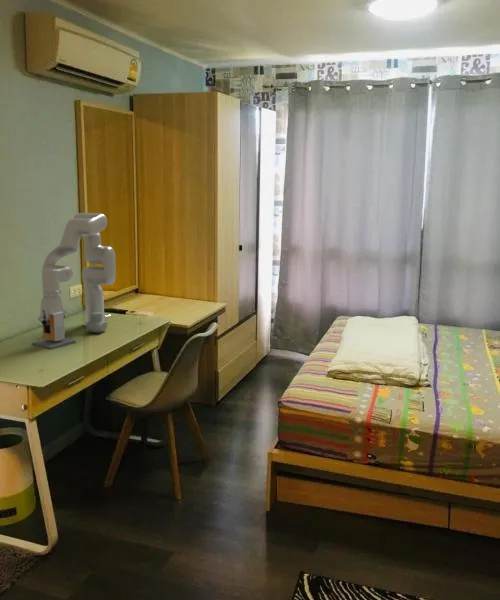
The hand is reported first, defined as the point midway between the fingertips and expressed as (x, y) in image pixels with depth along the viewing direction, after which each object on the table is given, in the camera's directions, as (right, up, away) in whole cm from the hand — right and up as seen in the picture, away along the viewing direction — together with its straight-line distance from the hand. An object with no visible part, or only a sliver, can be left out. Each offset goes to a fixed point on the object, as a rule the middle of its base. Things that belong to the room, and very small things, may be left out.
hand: (53, 331), depth 282 cm
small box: (0, -4, +1) cm, 4 cm away
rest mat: (0, -6, +1) cm, 6 cm away
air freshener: (+15, -2, +23) cm, 28 cm away
